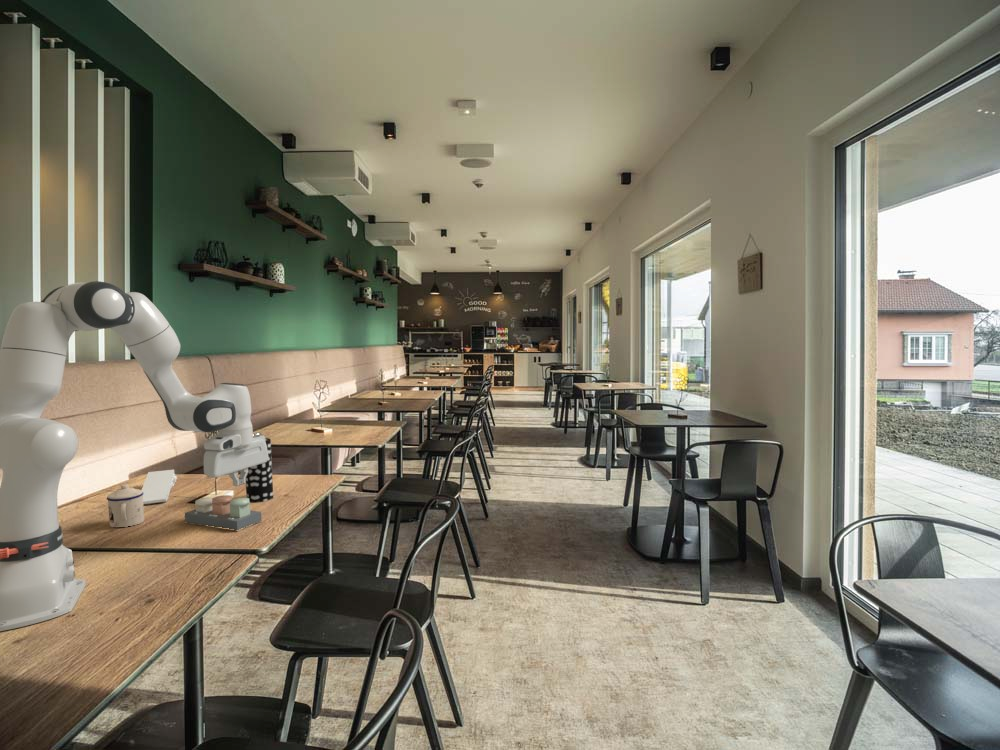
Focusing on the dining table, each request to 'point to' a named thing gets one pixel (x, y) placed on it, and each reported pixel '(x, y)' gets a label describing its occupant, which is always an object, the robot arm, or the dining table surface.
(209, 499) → the button one dot
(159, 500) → the wall bracket
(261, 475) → the spotted tube
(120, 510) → the teacup with lid
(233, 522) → the button panel
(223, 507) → the pink dome knob
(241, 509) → the button two dots
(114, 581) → the dining table surface
